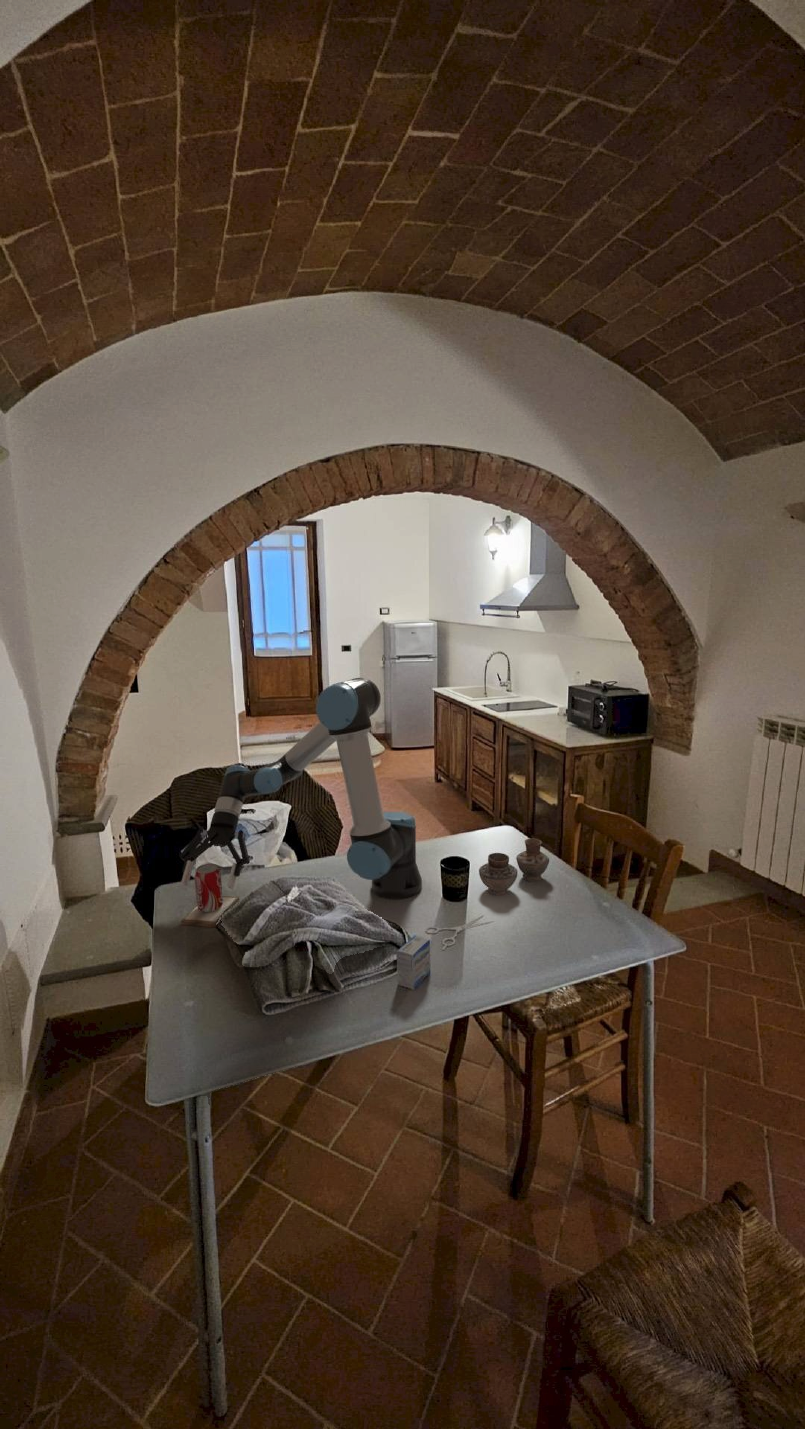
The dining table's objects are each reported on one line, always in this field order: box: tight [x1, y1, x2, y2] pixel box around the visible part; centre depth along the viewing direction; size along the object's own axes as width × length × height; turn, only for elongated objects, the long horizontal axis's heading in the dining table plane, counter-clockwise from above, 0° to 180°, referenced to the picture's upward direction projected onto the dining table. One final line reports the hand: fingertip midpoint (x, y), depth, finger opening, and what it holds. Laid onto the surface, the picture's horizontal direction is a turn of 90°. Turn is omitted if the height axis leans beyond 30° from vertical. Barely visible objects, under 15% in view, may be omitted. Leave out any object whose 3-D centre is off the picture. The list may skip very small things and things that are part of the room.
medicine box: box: [396, 934, 431, 990], centre depth 143 cm, size 8×4×9 cm, turn 148°
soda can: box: [194, 863, 224, 912], centre depth 174 cm, size 7×7×12 cm
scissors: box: [424, 914, 495, 952], centre depth 164 cm, size 11×1×20 cm
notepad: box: [180, 895, 240, 928], centre depth 175 cm, size 10×15×1 cm, turn 170°
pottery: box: [478, 838, 550, 896], centre depth 188 cm, size 11×25×12 cm, turn 125°
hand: (207, 886), depth 172 cm, fingers open, 13 cm apart
